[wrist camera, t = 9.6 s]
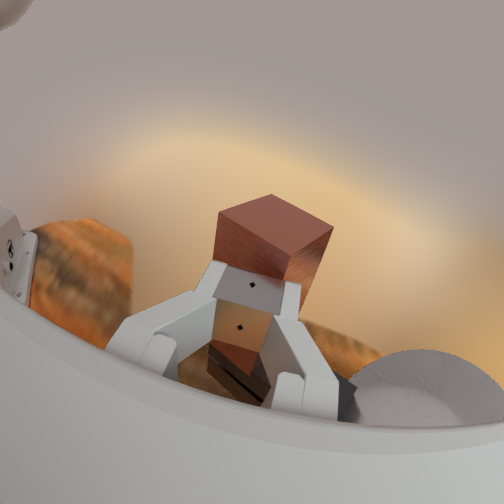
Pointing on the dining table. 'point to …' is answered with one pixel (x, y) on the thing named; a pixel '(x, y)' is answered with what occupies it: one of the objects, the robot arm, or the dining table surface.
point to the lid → (374, 374)
